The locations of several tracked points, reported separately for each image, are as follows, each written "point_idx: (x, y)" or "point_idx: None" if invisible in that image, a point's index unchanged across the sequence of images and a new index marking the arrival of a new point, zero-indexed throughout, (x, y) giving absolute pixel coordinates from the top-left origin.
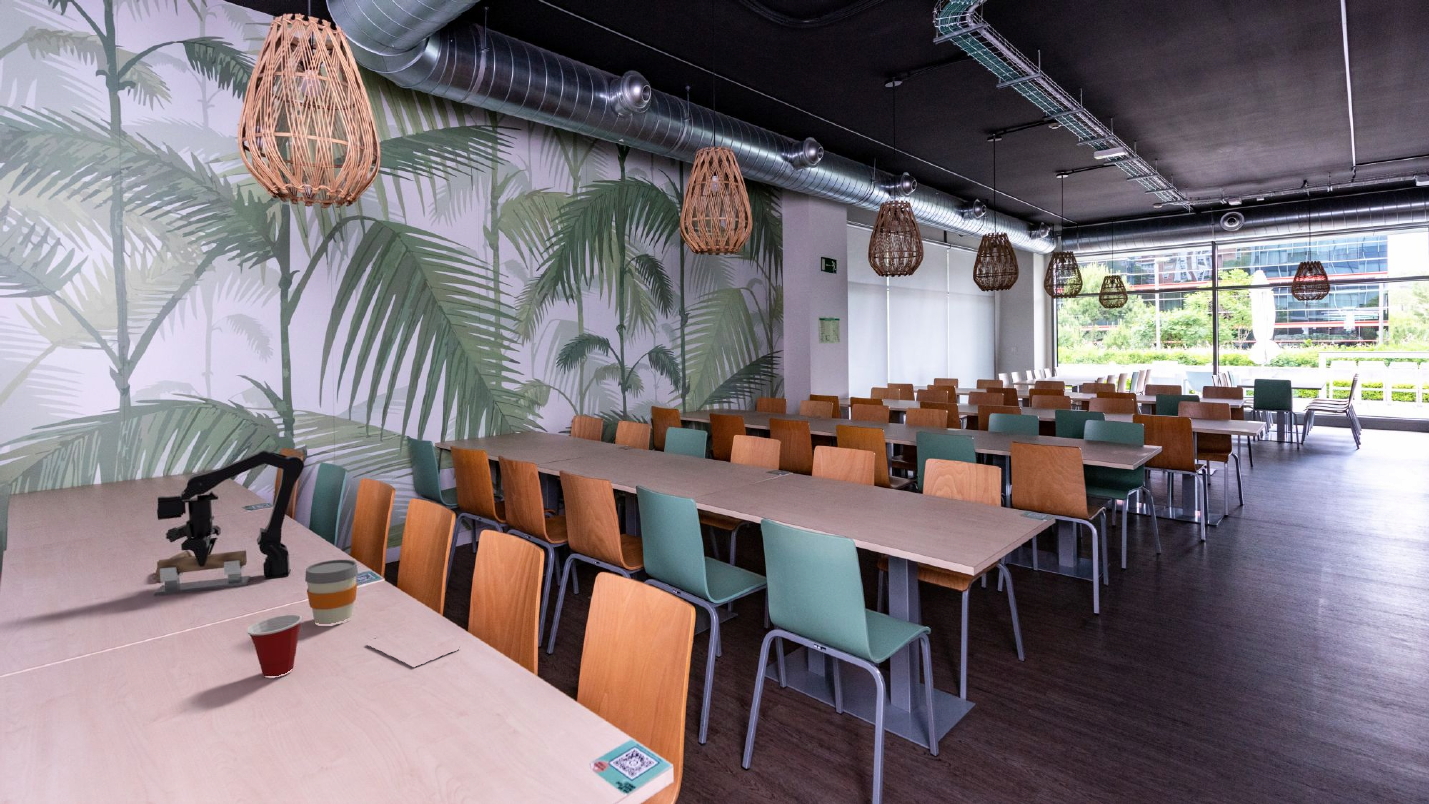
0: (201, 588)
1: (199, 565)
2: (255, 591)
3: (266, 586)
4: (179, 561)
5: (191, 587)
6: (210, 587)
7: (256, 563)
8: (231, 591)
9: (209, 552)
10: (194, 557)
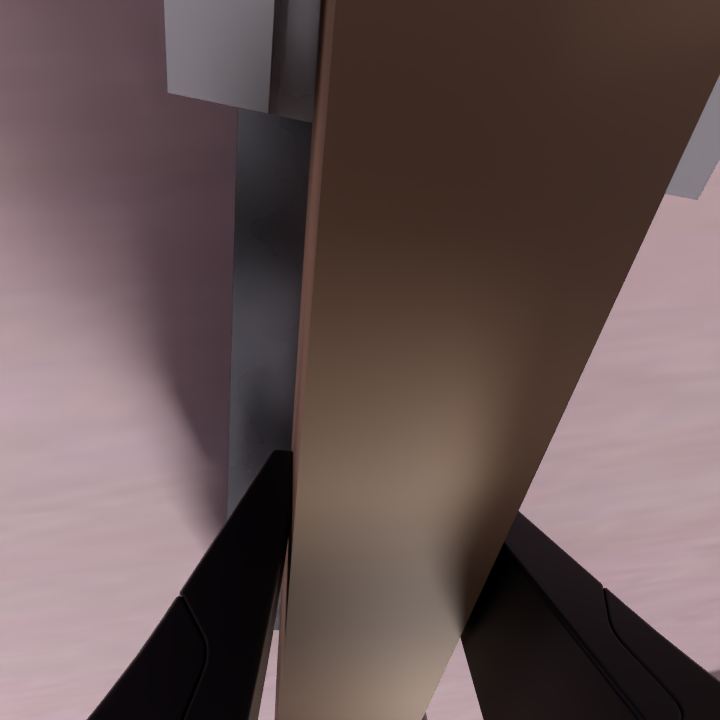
0: (233, 322)
1: (265, 461)
2: (66, 585)
3: (156, 609)
4: (317, 191)
5: (271, 246)
6: (231, 380)
7: (680, 523)
8: (117, 488)
9: (480, 675)
10: (381, 505)
